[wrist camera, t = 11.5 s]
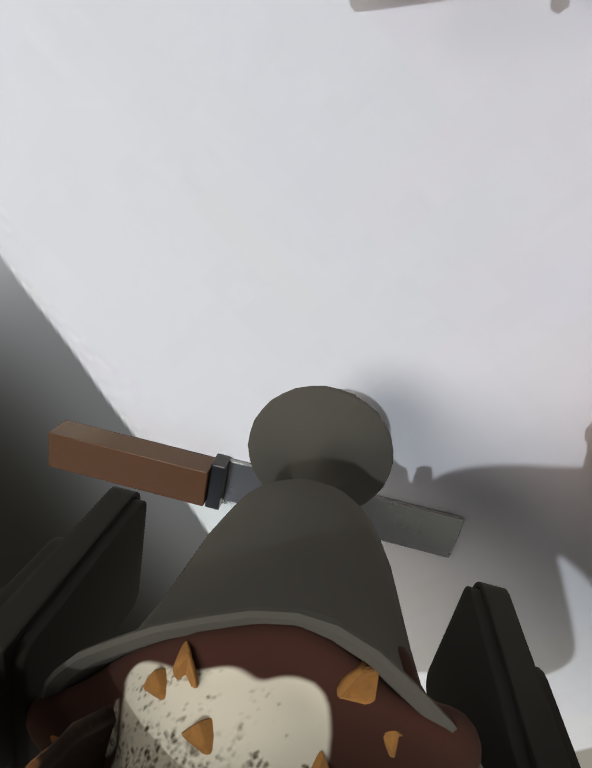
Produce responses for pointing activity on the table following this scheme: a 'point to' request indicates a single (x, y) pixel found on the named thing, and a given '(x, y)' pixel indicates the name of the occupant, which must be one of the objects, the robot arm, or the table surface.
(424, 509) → the knife
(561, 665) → the table surface
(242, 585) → the sundae
